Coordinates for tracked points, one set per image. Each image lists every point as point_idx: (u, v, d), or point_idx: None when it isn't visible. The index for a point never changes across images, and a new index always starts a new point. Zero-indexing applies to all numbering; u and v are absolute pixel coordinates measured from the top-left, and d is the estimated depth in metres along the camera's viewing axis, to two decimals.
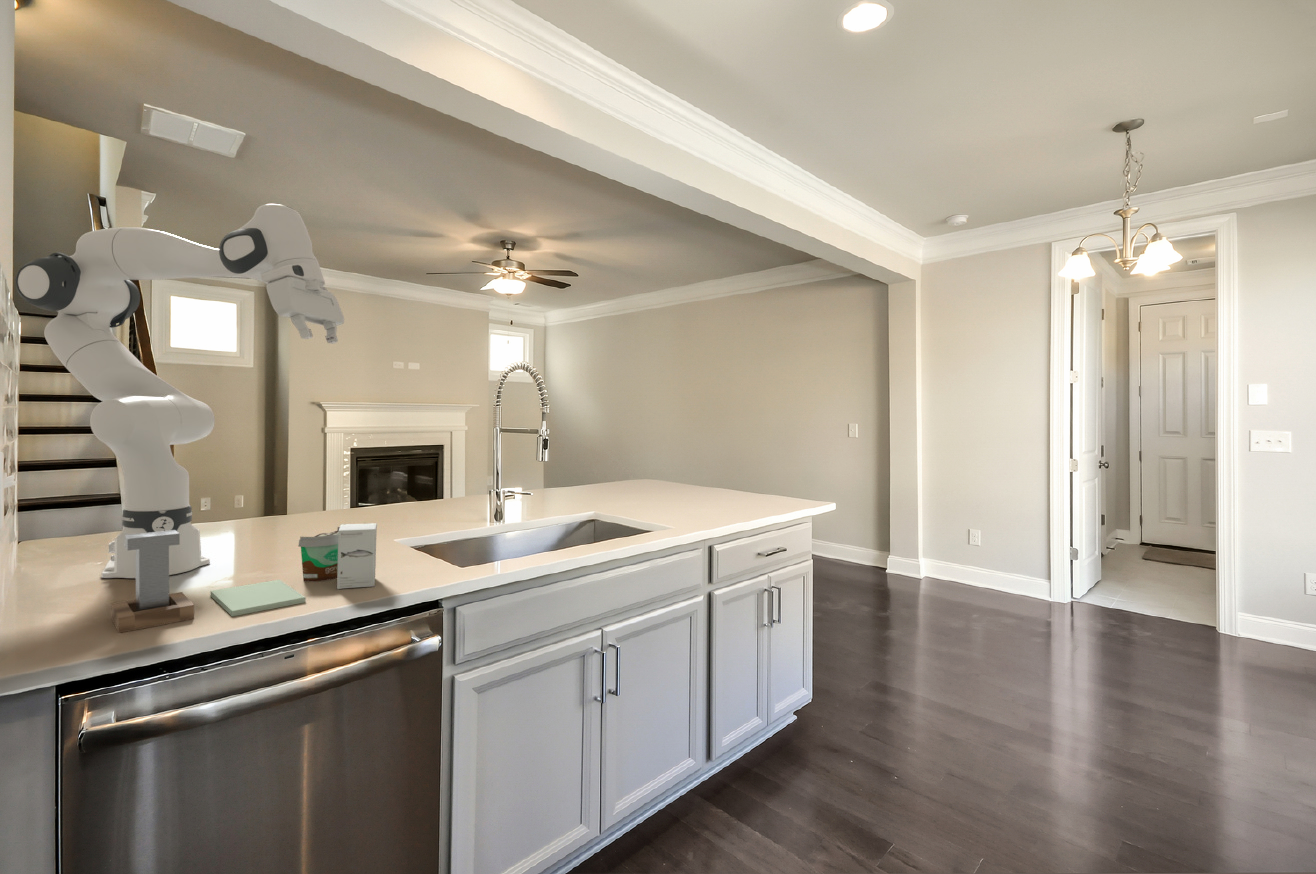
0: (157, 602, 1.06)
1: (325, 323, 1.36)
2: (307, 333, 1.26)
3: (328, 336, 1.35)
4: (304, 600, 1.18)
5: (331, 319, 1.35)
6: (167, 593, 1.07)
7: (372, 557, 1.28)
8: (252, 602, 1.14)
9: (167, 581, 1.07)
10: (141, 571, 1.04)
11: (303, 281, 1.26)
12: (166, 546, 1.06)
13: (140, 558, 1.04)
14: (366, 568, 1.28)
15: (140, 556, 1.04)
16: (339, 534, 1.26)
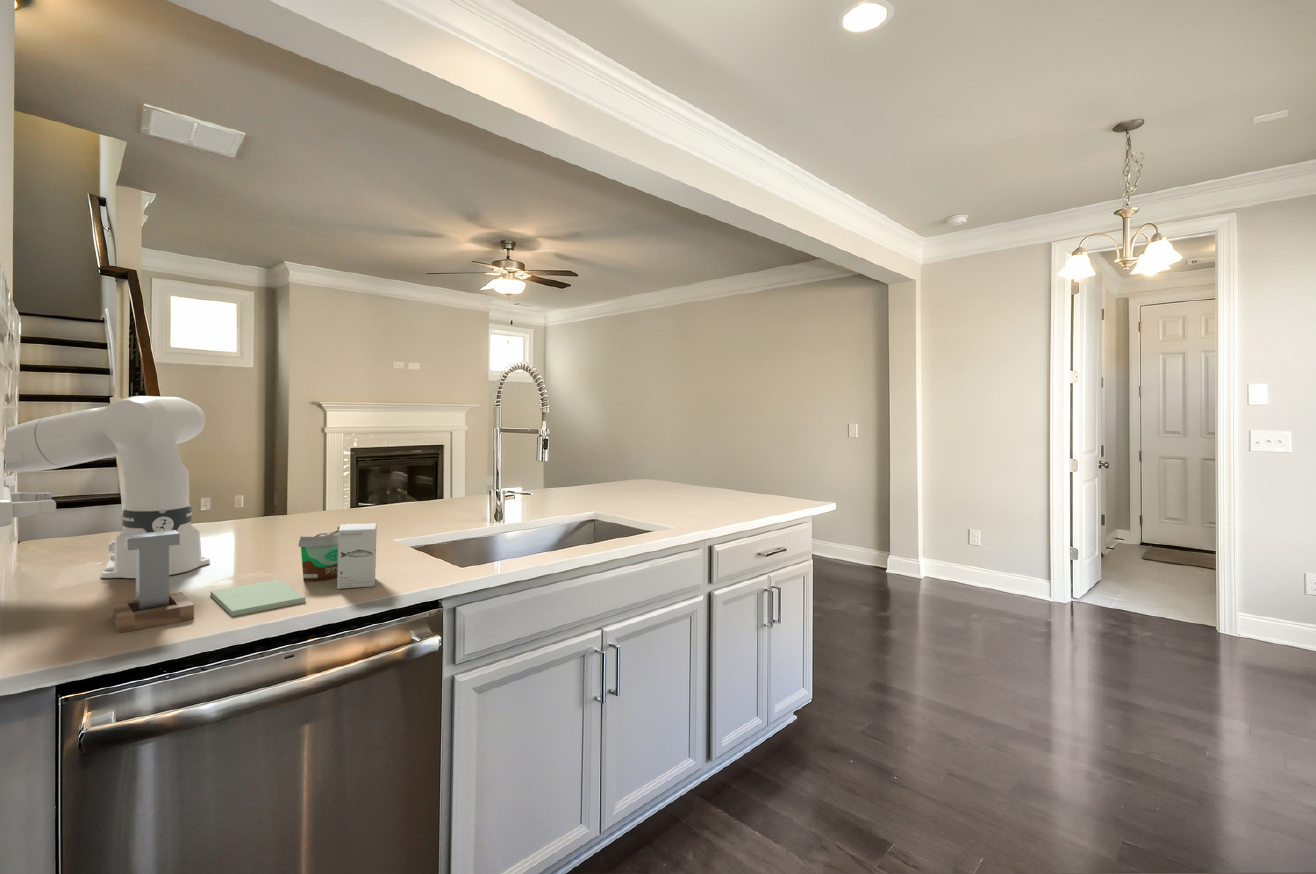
0: (157, 602, 1.06)
1: None
2: (49, 502, 0.93)
3: (39, 500, 0.98)
4: (304, 600, 1.18)
5: (9, 490, 0.96)
6: (167, 593, 1.07)
7: (372, 557, 1.28)
8: (252, 602, 1.14)
9: (167, 581, 1.07)
10: (141, 571, 1.04)
11: None
12: (166, 546, 1.06)
13: (140, 558, 1.04)
14: (366, 568, 1.28)
15: (140, 556, 1.04)
16: (339, 534, 1.26)
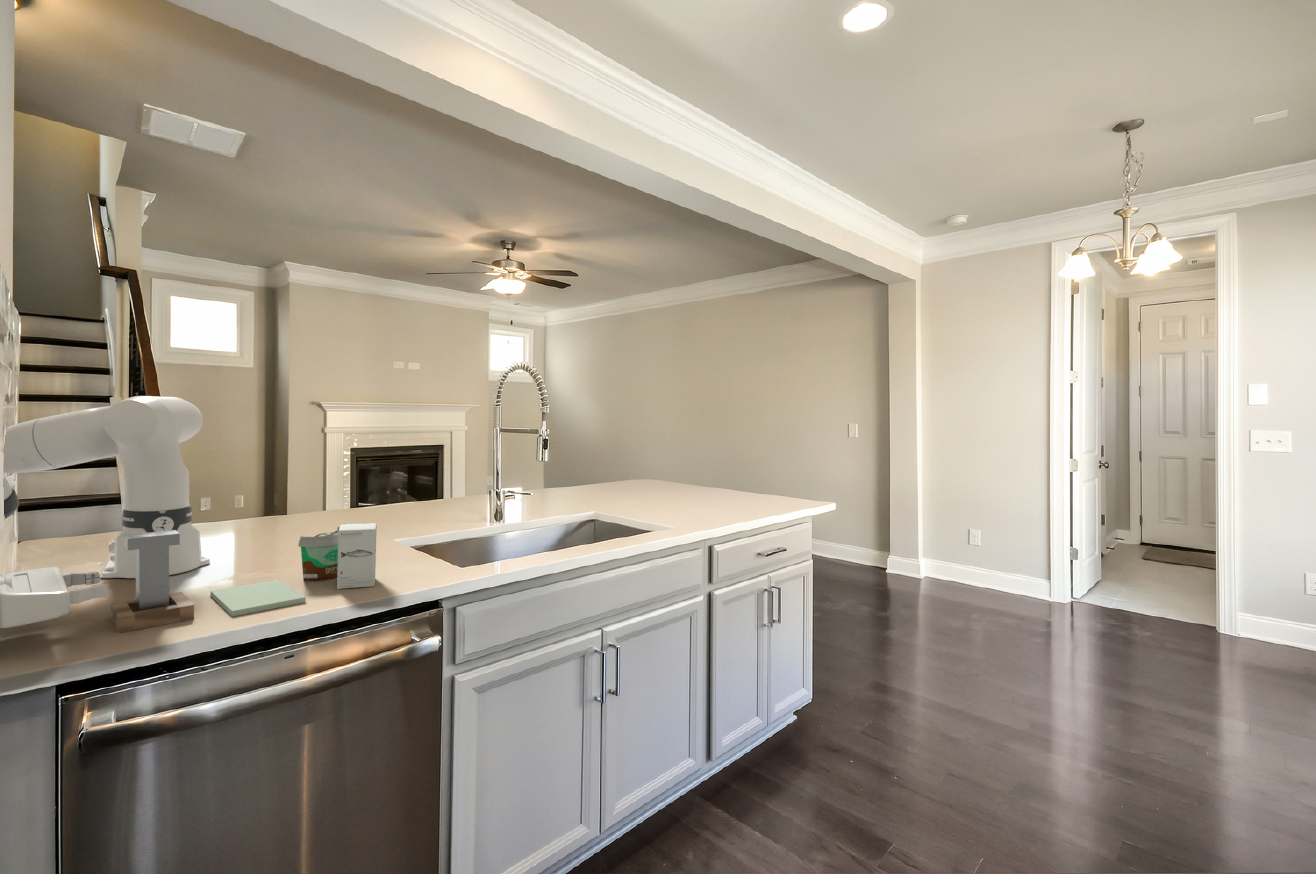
0: (157, 602, 1.06)
1: None
2: (101, 587, 0.97)
3: (88, 580, 1.03)
4: (304, 600, 1.18)
5: (61, 573, 1.01)
6: (167, 593, 1.07)
7: (372, 557, 1.28)
8: (252, 602, 1.14)
9: (167, 581, 1.07)
10: (141, 571, 1.04)
11: (3, 585, 0.90)
12: (166, 546, 1.06)
13: (140, 558, 1.04)
14: (366, 568, 1.28)
15: (140, 556, 1.04)
16: (339, 534, 1.26)
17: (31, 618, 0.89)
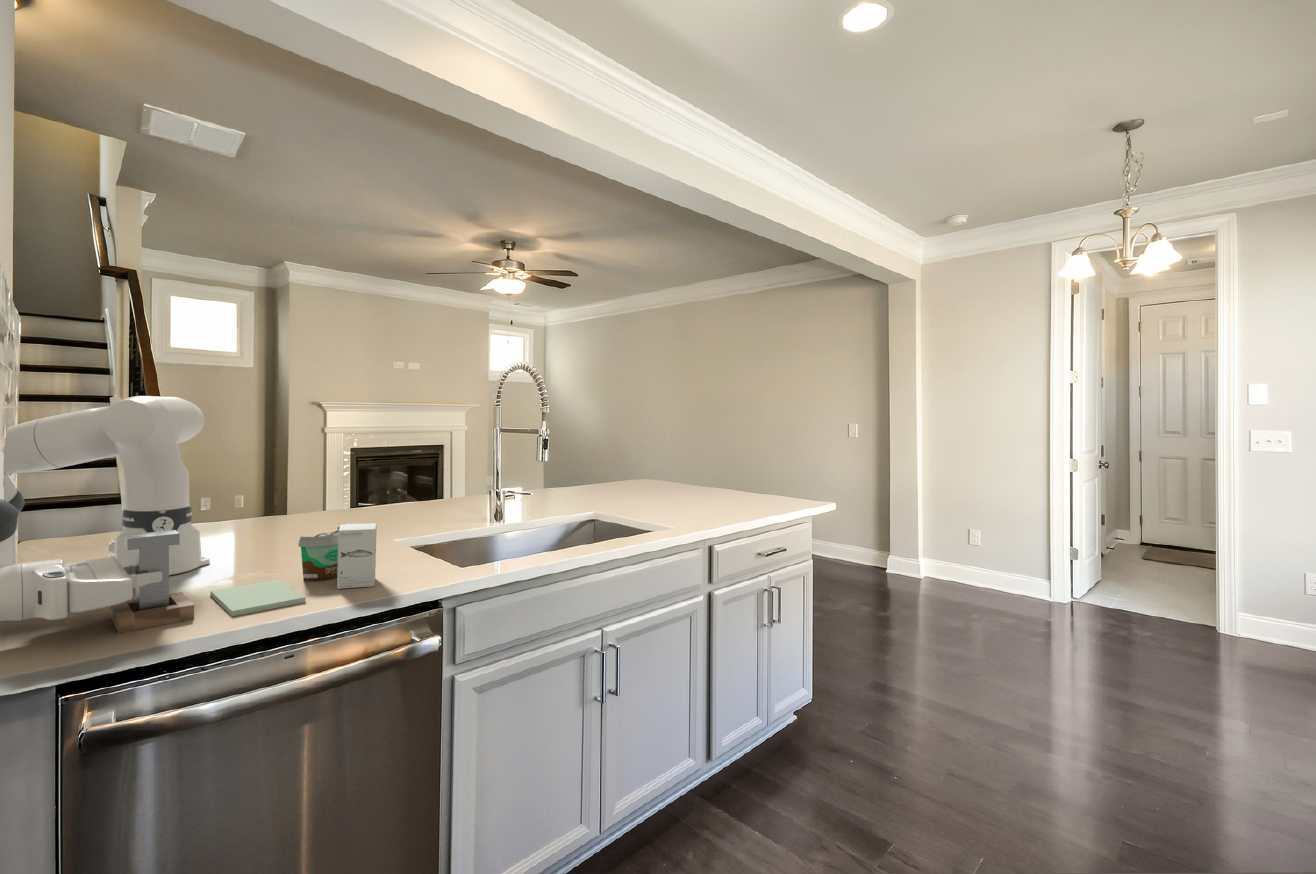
0: (157, 602, 1.06)
1: None
2: (157, 573, 1.04)
3: None
4: (304, 600, 1.18)
5: (119, 563, 1.06)
6: (167, 593, 1.07)
7: (372, 557, 1.28)
8: (252, 602, 1.14)
9: (167, 581, 1.07)
10: (141, 571, 1.04)
11: (71, 573, 0.96)
12: (166, 546, 1.06)
13: (140, 558, 1.04)
14: (366, 568, 1.28)
15: (140, 556, 1.04)
16: (339, 534, 1.26)
17: (98, 603, 0.94)
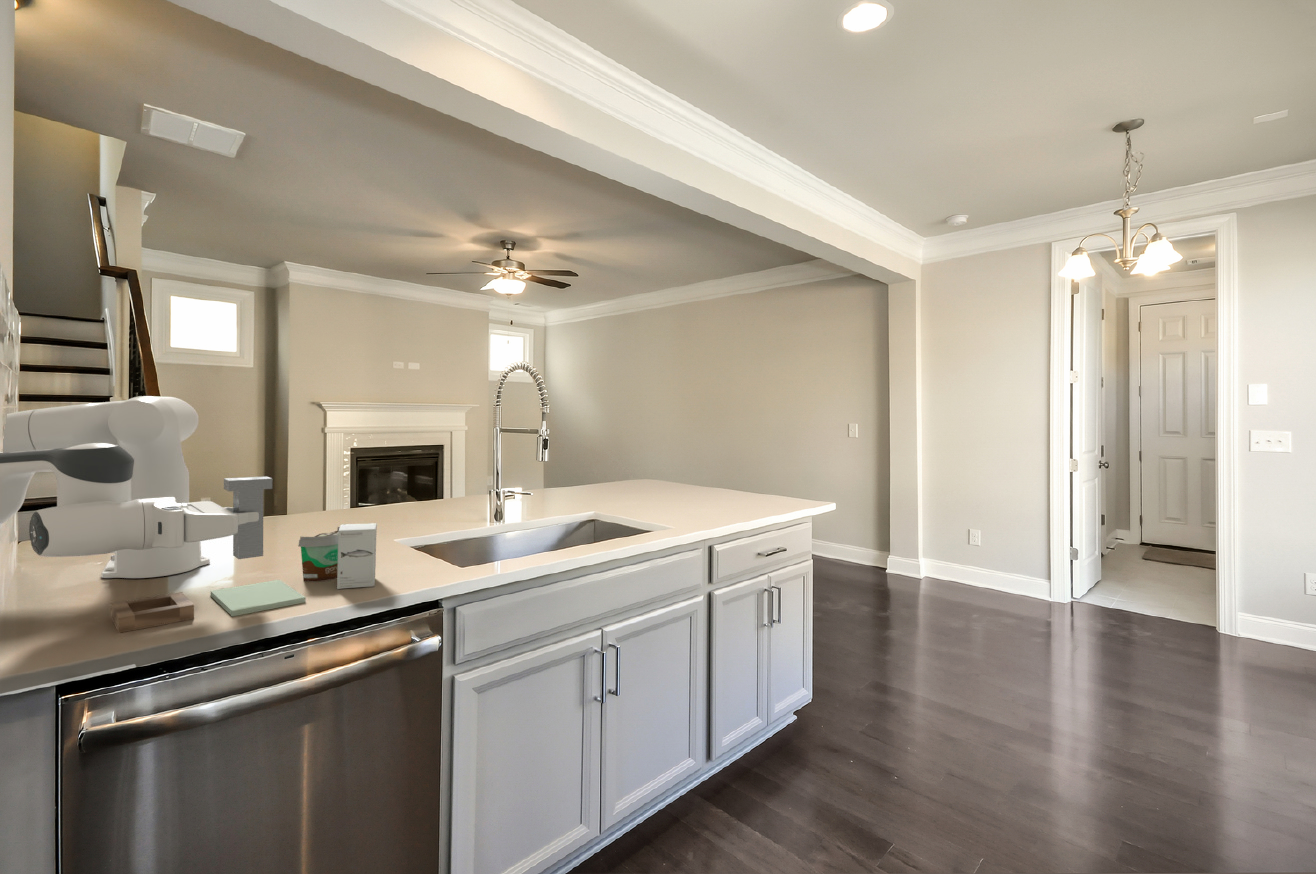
0: (253, 540, 1.16)
1: None
2: (254, 513, 1.14)
3: None
4: (304, 600, 1.18)
5: (218, 505, 1.16)
6: (261, 532, 1.16)
7: (372, 557, 1.28)
8: (252, 602, 1.14)
9: (262, 521, 1.16)
10: (240, 511, 1.14)
11: (184, 508, 1.06)
12: (261, 489, 1.16)
13: (239, 499, 1.13)
14: (366, 568, 1.28)
15: (239, 497, 1.13)
16: (339, 534, 1.26)
17: (210, 535, 1.04)
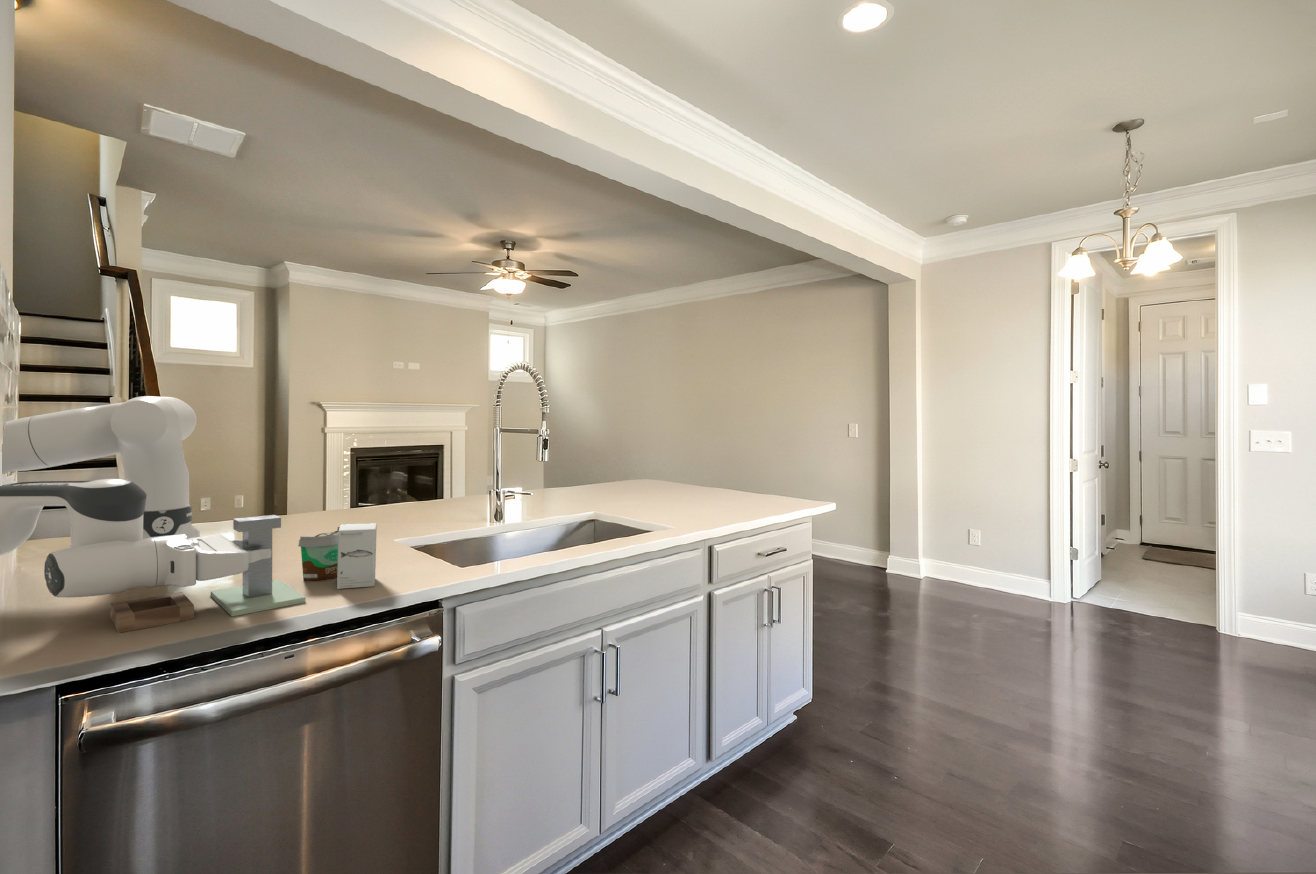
0: (263, 579, 1.17)
1: None
2: (267, 550, 1.15)
3: None
4: (304, 600, 1.18)
5: None
6: (271, 571, 1.18)
7: (372, 557, 1.28)
8: (252, 602, 1.14)
9: (271, 560, 1.18)
10: None
11: (196, 546, 1.07)
12: (270, 529, 1.18)
13: (249, 539, 1.15)
14: (366, 568, 1.28)
15: (249, 537, 1.15)
16: (339, 534, 1.26)
17: (222, 573, 1.06)
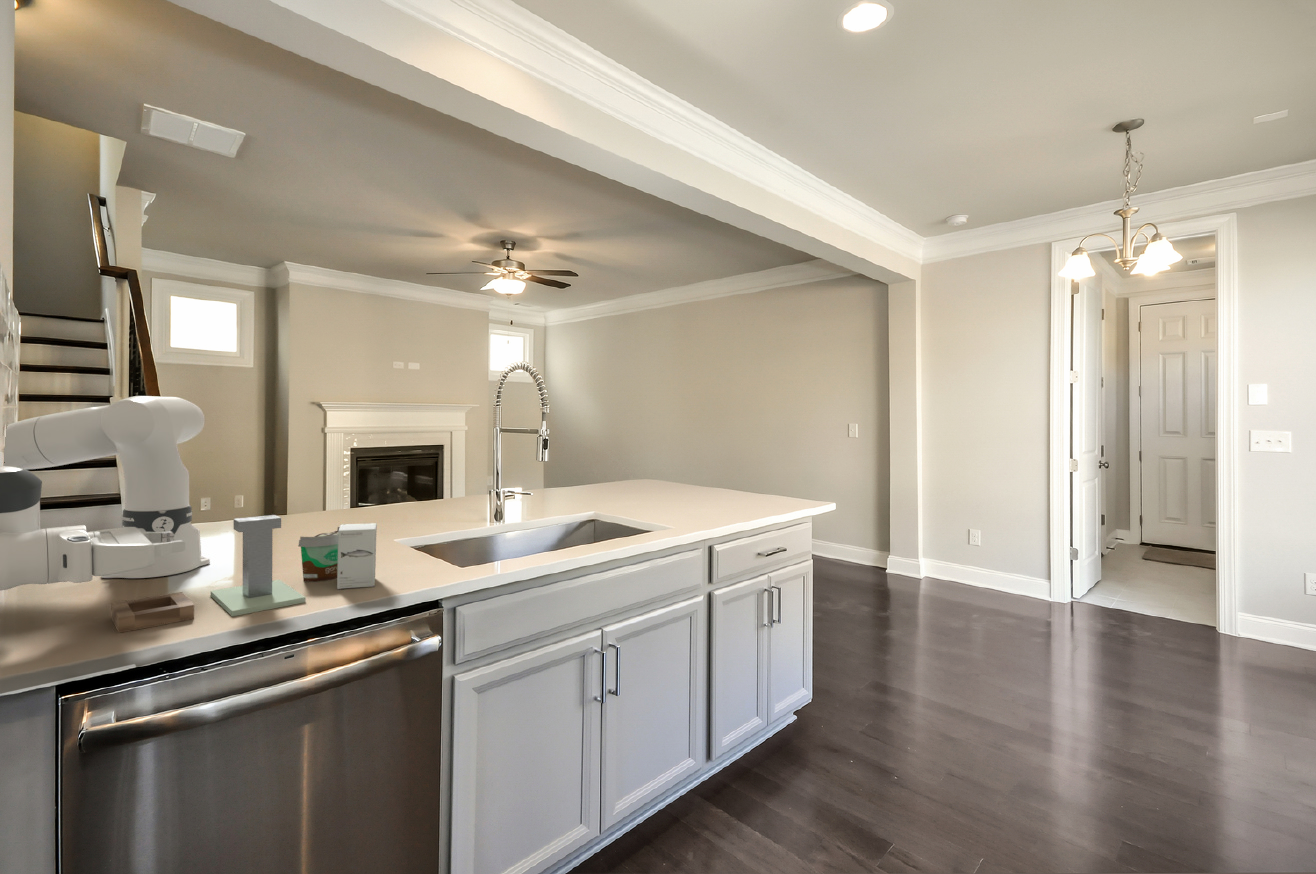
0: (263, 579, 1.17)
1: None
2: (180, 542, 1.04)
3: (164, 539, 1.10)
4: (304, 600, 1.18)
5: (140, 531, 1.08)
6: (271, 571, 1.18)
7: (372, 557, 1.28)
8: (252, 602, 1.14)
9: (271, 560, 1.18)
10: (250, 551, 1.16)
11: (94, 538, 0.97)
12: (270, 529, 1.18)
13: (249, 539, 1.15)
14: (366, 568, 1.28)
15: (249, 537, 1.15)
16: (339, 534, 1.26)
17: (122, 567, 0.96)
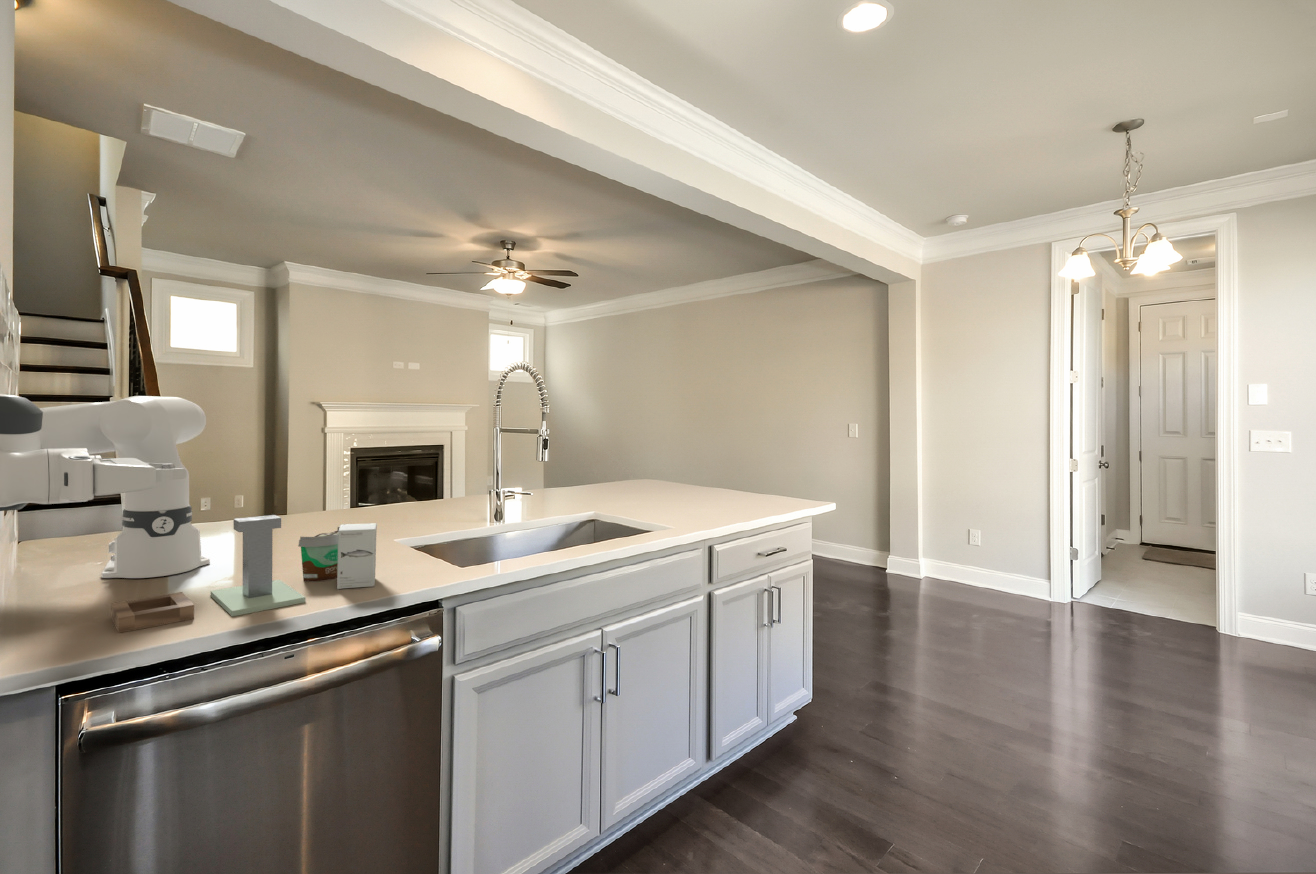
0: (263, 579, 1.17)
1: None
2: (181, 469, 1.04)
3: None
4: (304, 600, 1.18)
5: None
6: (271, 571, 1.18)
7: (372, 557, 1.28)
8: (252, 602, 1.14)
9: (271, 560, 1.18)
10: (250, 551, 1.16)
11: (95, 459, 0.97)
12: (270, 529, 1.18)
13: (249, 539, 1.15)
14: (366, 568, 1.28)
15: (249, 537, 1.15)
16: (339, 534, 1.26)
17: (123, 487, 0.96)
